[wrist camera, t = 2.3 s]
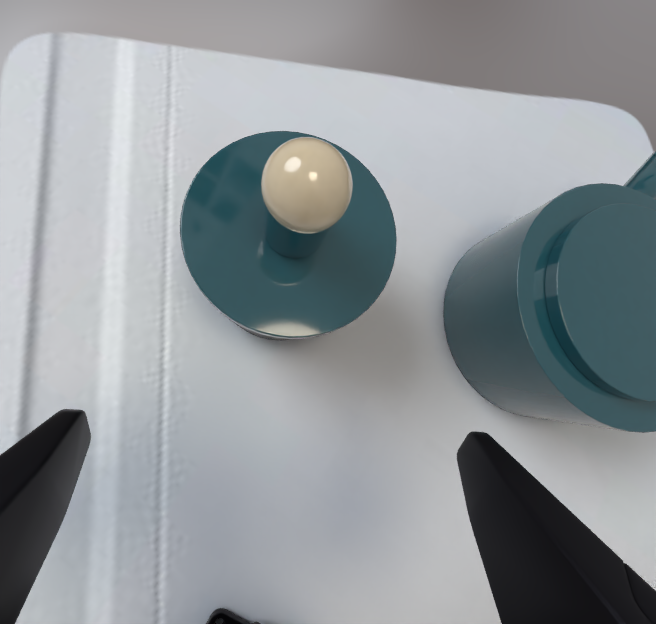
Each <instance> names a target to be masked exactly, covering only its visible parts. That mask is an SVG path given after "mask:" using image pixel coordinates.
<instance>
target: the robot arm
mask: <svg viewBox="0 0 656 624" xmlns="http://www.w3.org/2000/svg"><path fill="white" fill-rule="evenodd" d="M90 440H91V433H90V429H89V425H88V421H87V417H86V413H85V412H84V411H83V410H74V409H63V410H61V411H59V412H57V413H56V414H55V415H53V416H52V417H51V418H49V419H48V420H47V421H45V422H44V423H43V424H41V425H40V426H39V427H37V428H36V429H35V430H33V431H32V432H31V433H29V434H28V435H27V436H25V437H24V438H23V439H21V440H20V441H19V442H17V443H16V444H15V445H13V446H12V447H11V448H9V449H8V450H7V451H5V452H4V453H3V454H1V455H0V624H15V622H16V620H17V618H18V616H19V614H20V611H21V609H22V607H23V605H24V603H25V601H26V599H27V596H28V594H29V592H30V590H31V588H32V586H33V584H34V582H35V579H36V577H37V575H38V573H39V571H40V569H41V567H42V564H43V562H44V560H45V558H46V556H47V554H48V552H49V549H50V547H51V545H52V543H53V541H54V539H55V537H56V535H57V532H58V530H59V528H60V526H61V524H62V521H63V519H64V517H65V514H66V511H67V509H68V506H69V503H70V500H71V497H72V494H73V491H74V488H75V486H76V483H77V480H78V477H79V474H80V471H81V468H82V465H83V462H84V459H85V456H86V454H87V451H88V448H89V445H90ZM457 462H458V467H459V471H460V476H461V481H462V486H463V491H464V496H465V500H466V505H467V510H468V514H469V518H470V522H471V526H472V529H473V532H474V536H475V539H476V542H477V545H478V549H479V552H480V555H481V558H482V561H483V565H484V568H485V571H486V574H487V578H488V581H489V584H490V587H491V591H492V594H493V597H494V600H495V603H496V607H497V610H498V613H499V616H500V620H501V623H502V624H656V591H655V590H654V589H653V588H652V587H651V586H650V585H649V584H647V583H646V582H645V581H644V580H643V579H642V578H641V577H640V576H639V575H638V574H637V573H636V572H635V571H634V570H632V569H631V568H630V567H629V566H628V565H627V564H625V563H623V560H622V559H621V558H620V557H618V556H617V555H616V554H615V553H614V552H613V551H612V550H611V549H610V548H609V547H608V546H607V545H606V544H605V543H604V542H603V541H601V540H600V539H599V538H598V537H597V536H596V535H595V534H594V533H593V532H592V531H591V530H590V529H589V528H588V527H587V526H586V525H584V524H583V523H582V522H581V521H580V520H579V519H578V518H577V517H576V516H575V515H574V514H573V513H572V512H571V511H570V510H568V509H567V508H566V507H565V506H564V505H563V504H562V503H561V502H560V501H559V500H558V499H557V498H556V497H555V496H554V495H553V494H551V493H550V492H549V491H548V490H547V489H546V488H545V487H544V486H543V485H542V484H541V483H540V482H539V481H538V480H537V479H536V478H534V477H533V476H532V475H531V474H530V473H529V472H528V471H527V470H526V469H525V468H524V467H523V466H522V465H521V464H520V463H519V462H517V461H516V460H515V459H514V458H513V457H512V456H511V455H510V454H509V453H508V452H507V451H506V450H505V449H504V448H503V447H501V446H500V445H499V444H498V443H497V442H496V441H495V440H494V439H493V438H492V437H491V436H490V435H488V434H487V433H484V432H470V433H469V434H468V435H467V437H466V438H465V440H464V441H463V443H462V445H461V446H460V448H459V449H458V452H457ZM219 618H221V619H223V620H224V622H223V623H222V624H260V623H258V622H254V623H249V622H248V621H246V620H244V619H242V618H240V617H239V616H237V615H235V614H233V613H231V612H230V611H228V610H226V609H223V608H219V609H217V610H215V611H214V612H213V613H212V614H211V616H210V618H209V619H208V621H207V623H206V624H216V623H215V621H216V619H219Z"/></svg>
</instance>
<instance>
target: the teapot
mask: <svg viewBox="0 0 656 624" xmlns="http://www.w3.org/2000/svg"><path fill="white" fill-rule="evenodd" d="M444 327H445V332H446V337H447V342H448V345H449V347H450V350H451V353H452V356H453V358H454V360H455V362H456V364H457V366H458V367H459V369H460V371H461V372H462V374H463V375H464V377H465V378H466V379H467V381H468V382H469V383H470V384H471V386H472V387H473V388H474V389H475V390H476V391H477V392H478V393H479V394H481V395H482V396H483V397H484V398H486V399H487V400H488V401H490V402H491V403H492V404H494V405H496V406H498V407H499V408H501V409H503V410H506V411H508V412H511V413H513V414H518V415H522V416H527V417H534V418H541V419H547V420H554V421H561V422H568V423H575V424H581V425H588V426H595V427H602V428H609V429H615V430H622V431H629V432H642V433H644V432H655V431H656V151H655V152H654V153H653V154H652V155H651V156H650V157H649V158H648V159H647V160H646V161H645V162H644V164H643V165H642V166H641V167H640V168H639V169H638V170H637V171H636V172H635V173H634V175H633V176H632V177H631V178H630V179H629V180H628V181H627V182H626V183H625V184H624V185H623V186H620V185H616V184H603V183H601V184H588V185H584V186H580V187H576V188H574V189H571V190H569V191H566V192H564V193H562V194H561V195H559V196H557V197H556V198H554V199H552V200H550V201H549V202H547V203H545V204H544V205H542V206H540V207H539V208H537V209H535V210H533V211H532V212H530V213H528V214H527V215H525V216H523V217H521V218H520V219H518V220H516V221H515V222H513V223H511V224H509V225H508V226H506V227H504V228H503V229H501V230H499V231H498V232H496V233H494V234H492V235H491V236H489V237H487V238H486V239H484V240H482V241H481V242H479V243H477V244H476V245H474V246H473V247H472V248H471V249H470V250H469V251H467V252H466V254H465V255H464V256H463V257H462V258H461V259H460V261H459V262H458V264H457V265H456V267H455V269H454V270H453V273H452V275H451V277H450V279H449V282H448V286H447V289H446V293H445V300H444Z"/></svg>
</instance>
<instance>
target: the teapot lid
mask: <svg viewBox="0 0 656 624" xmlns="http://www.w3.org/2000/svg"><path fill="white" fill-rule="evenodd" d="M180 238H181V246H182V250H183V254H184V258H185V261H186V264H187V266H188V269H189V271H190V273H191V276H192V277H193V279H194V281H195V282H196V284H197V286H198V287H199V289H200V290H201V292H202V293H203V294H204V296H205V297H206V298H207V299H208V300H209V302H210V303H211V304H212V305H213V306H214V307H215V308H216V309H218V310H219V311H220V312H221V313H222V314H223V315H225V316H226V317H228V318H229V319H230V320H232V321H233V322H235V323H237V324H239V325H240V326H242V327H244V328H246V329H249V330H251V331H254V332H256V333H259V334H262V335H267V336H271V337H275V338H285V339H304V338H311V337H317V336H320V335H324V334H327V333H331V332H333V331H335V330H337V329H339V328H342V327H344V326H346V325H347V324H349V323H350V322H352V321H354V320H355V319H357V318H358V317H359V316H360V315H362V314H363V313H364V312H365V311H366V310H368V308H369V307H370V306H371V305H372V304H373V303H374V302H375V301H376V299H377V298H378V297H379V295H380V294H381V292H382V291H383V289H384V287H385V285H386V283H387V281H388V279H389V277H390V274H391V271H392V268H393V265H394V259H395V254H396V228H395V222H394V217H393V213H392V210H391V207H390V204H389V202H388V200H387V197H386V195H385V193H384V191H383V189H382V188H381V186H380V185H379V183H378V182H377V180H376V179H375V177H374V176H373V175H372V174H371V173H370V171H369V170H368V169H367V168H366V167H365V166H364V165H363V164H362V163H361V162H360V161H359V160H358V159H356V158H355V157H354V156H353V155H351V154H350V153H349V152H347V151H346V150H344V149H342V148H341V147H339V146H337V145H335V144H333V143H331V142H329V141H327V140H325V139H322V138H319V137H316V136H313V135H309V134H304V133H299V132H289V131H274V132H265V133H259V134H255V135H251V136H248V137H245V138H242V139H240V140H238V141H235V142H233V143H231V144H230V145H228V146H226V147H225V148H223V149H221V150H220V151H219V152H217V153H216V154H215V155H214V156H213V157H211V158H210V159H209V160H208V161H207V162H206V163H205V165H204V166H203V167H202V168H201V169H200V170H199V172H198V173H197V175H196V176H195V178H194V179H193V181H192V183H191V185H190V187H189V189H188V191H187V193H186V196H185V200H184V203H183V206H182V212H181V218H180Z"/></svg>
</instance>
